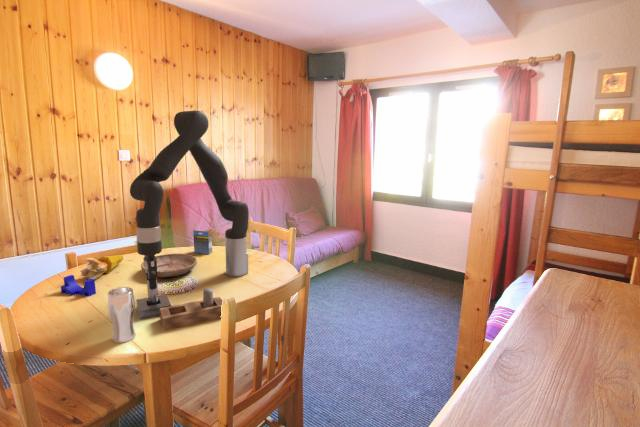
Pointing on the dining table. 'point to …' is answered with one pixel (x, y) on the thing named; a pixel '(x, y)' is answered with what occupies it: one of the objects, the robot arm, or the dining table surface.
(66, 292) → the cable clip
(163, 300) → the socket block
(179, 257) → the ceramic bowl
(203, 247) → the label tape cartridge
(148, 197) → the robot arm
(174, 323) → the rack
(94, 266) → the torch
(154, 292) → the round metal peg
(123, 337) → the beer glass
